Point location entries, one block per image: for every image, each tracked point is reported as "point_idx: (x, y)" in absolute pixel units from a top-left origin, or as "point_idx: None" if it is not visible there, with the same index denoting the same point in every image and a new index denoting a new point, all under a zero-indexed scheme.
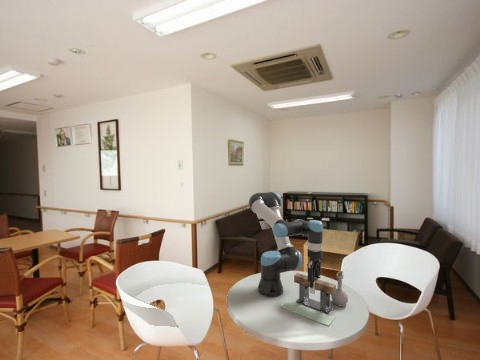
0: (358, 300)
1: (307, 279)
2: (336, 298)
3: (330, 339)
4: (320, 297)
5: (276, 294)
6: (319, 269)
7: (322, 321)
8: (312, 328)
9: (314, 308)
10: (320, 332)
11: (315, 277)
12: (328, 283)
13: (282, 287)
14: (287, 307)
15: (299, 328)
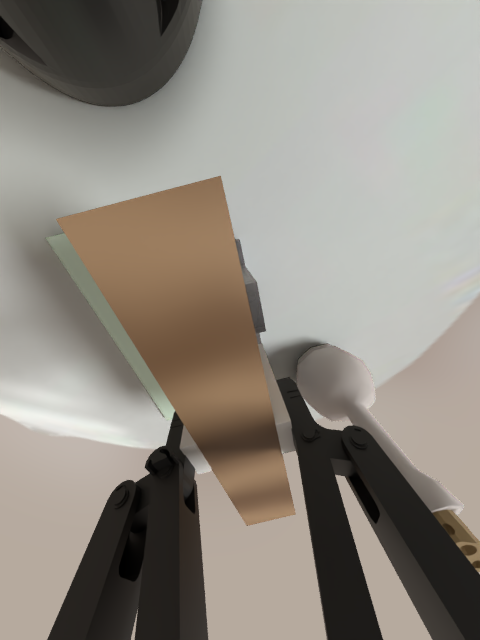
0: (374, 383)
1: (184, 421)
2: (303, 391)
3: (128, 444)
4: None
5: (59, 83)
6: (406, 585)
7: (164, 403)
8: (109, 404)
9: None
10: (122, 422)
11: (292, 436)
12: (278, 500)
13: (152, 32)
14: (79, 272)
15: (61, 388)
